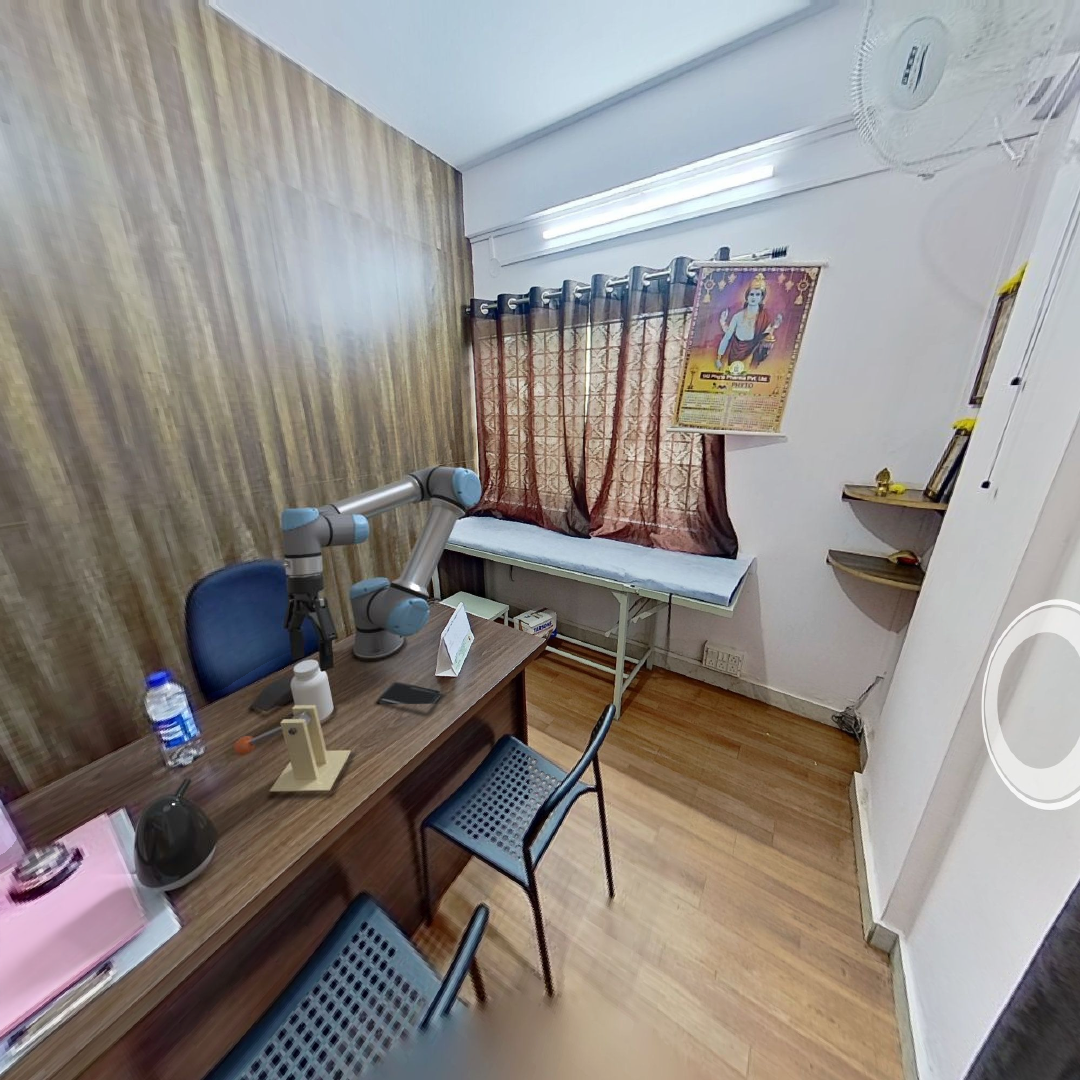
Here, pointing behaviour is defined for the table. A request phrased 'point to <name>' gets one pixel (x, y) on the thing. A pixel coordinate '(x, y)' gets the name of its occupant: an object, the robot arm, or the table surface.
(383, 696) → the phone
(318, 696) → the pill bottle
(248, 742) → the lever
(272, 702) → the computer mouse
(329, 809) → the table surface
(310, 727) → the bracket
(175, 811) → the black rounded teardrop
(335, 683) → the table surface
